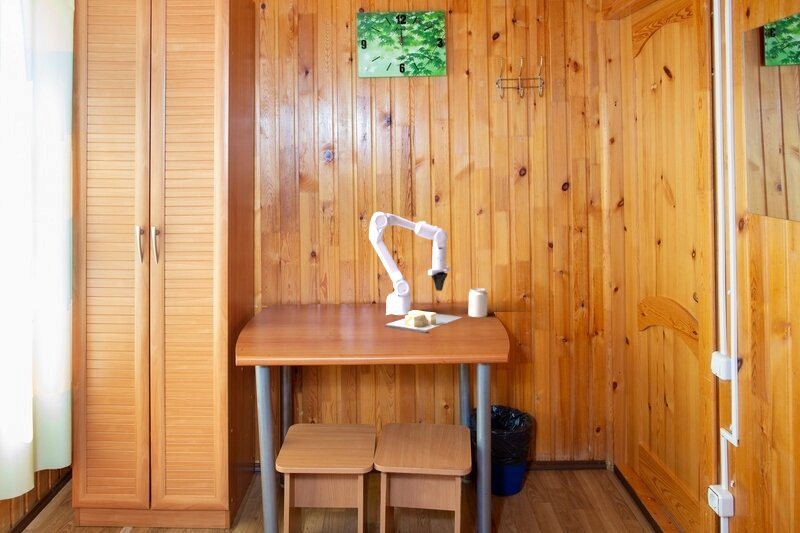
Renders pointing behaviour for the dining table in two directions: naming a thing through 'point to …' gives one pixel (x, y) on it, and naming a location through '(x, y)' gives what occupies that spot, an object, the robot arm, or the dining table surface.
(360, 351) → the dining table surface
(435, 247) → the robot arm
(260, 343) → the dining table surface
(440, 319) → the board
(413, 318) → the block
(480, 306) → the can
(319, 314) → the dining table surface
